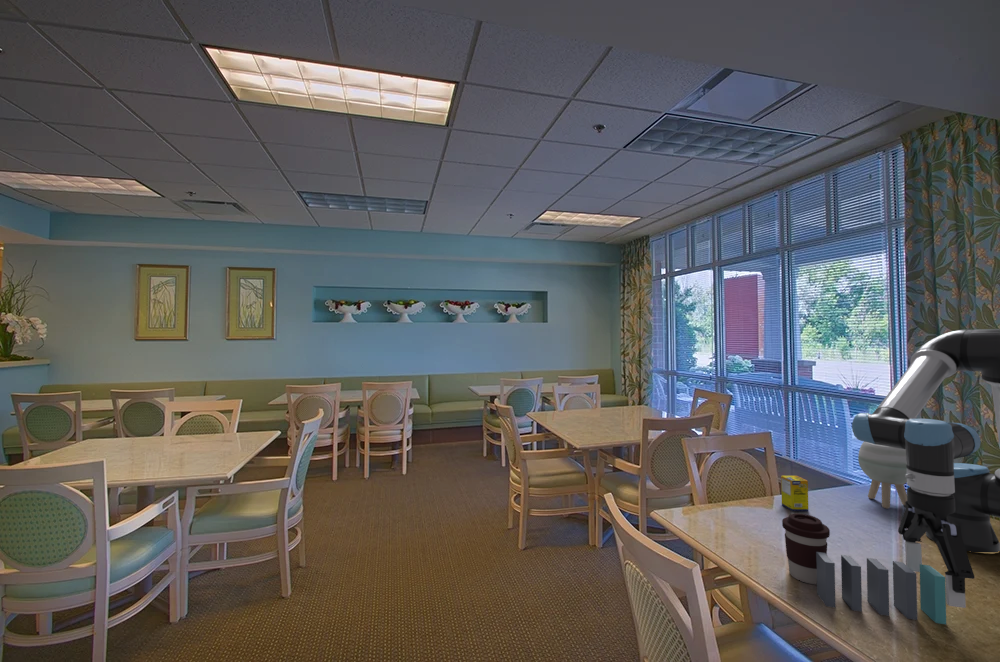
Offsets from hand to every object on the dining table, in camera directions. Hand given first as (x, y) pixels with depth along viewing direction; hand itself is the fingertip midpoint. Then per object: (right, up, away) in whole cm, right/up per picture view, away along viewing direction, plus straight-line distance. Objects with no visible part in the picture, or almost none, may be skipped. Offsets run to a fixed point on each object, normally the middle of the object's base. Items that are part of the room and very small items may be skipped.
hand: (933, 587), depth 94 cm
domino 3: (-10, -6, +3) cm, 12 cm away
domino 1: (-20, -6, +6) cm, 21 cm away
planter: (+47, -8, +63) cm, 80 cm away
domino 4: (-5, -6, +1) cm, 8 cm away
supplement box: (+11, -8, +60) cm, 61 cm away
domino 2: (-15, -6, +4) cm, 17 cm away
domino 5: (0, -6, 0) cm, 6 cm away
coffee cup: (-17, -7, +15) cm, 24 cm away
